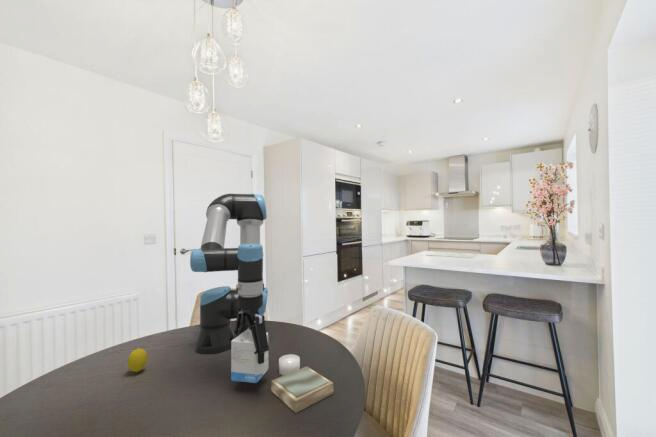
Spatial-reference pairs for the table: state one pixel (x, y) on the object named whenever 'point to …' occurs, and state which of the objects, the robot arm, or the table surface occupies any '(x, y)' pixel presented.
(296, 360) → the white domed cylinder
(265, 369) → the ink box
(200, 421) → the table surface
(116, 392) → the table surface
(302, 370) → the oak picture frame
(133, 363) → the lemon
